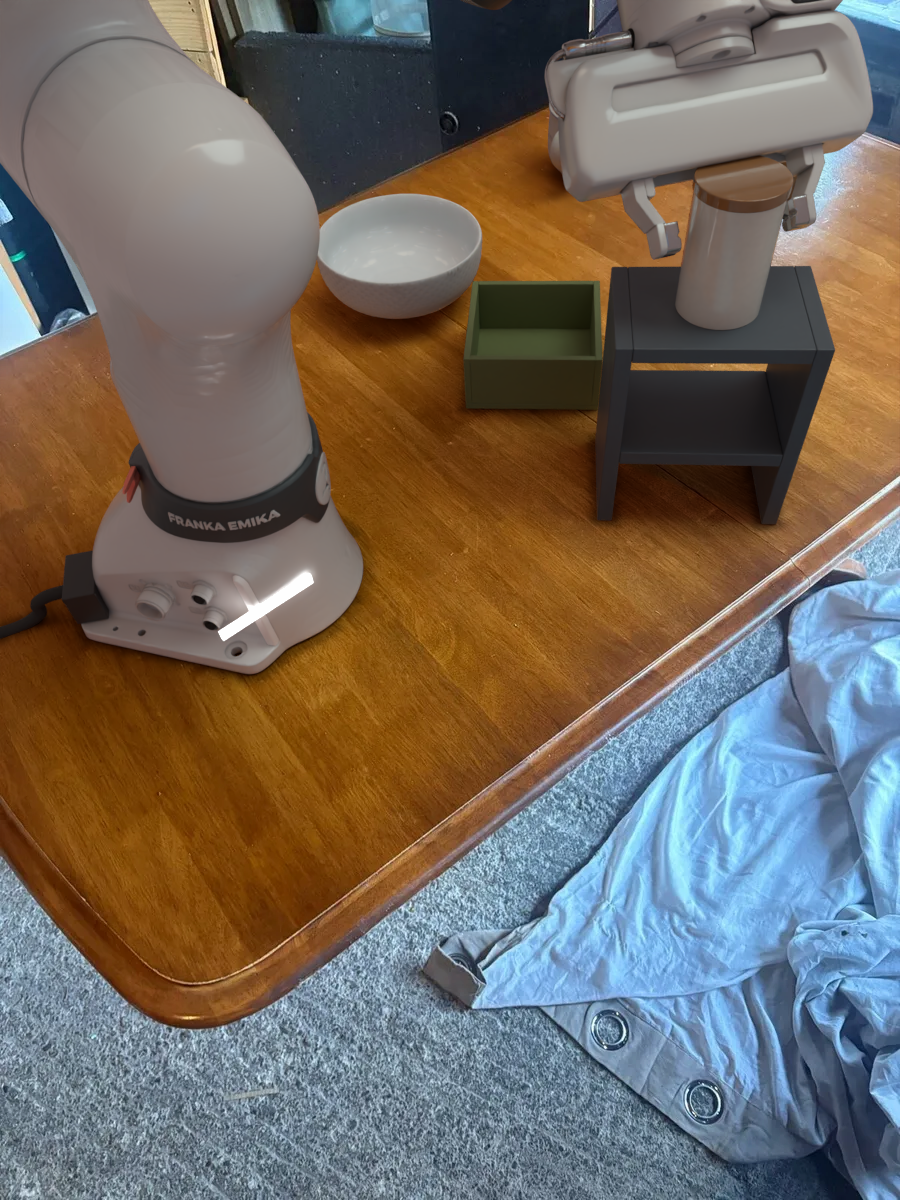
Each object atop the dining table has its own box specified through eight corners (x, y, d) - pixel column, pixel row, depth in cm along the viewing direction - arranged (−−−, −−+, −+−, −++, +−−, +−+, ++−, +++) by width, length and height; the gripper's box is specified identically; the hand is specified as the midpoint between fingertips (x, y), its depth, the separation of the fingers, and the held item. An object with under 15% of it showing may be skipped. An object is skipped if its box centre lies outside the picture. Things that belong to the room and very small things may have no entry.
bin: (465, 408, 83) (463, 359, 79) (474, 330, 91) (472, 280, 86) (597, 410, 82) (602, 359, 78) (595, 330, 89) (599, 280, 85)
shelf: (597, 520, 74) (615, 349, 60) (595, 438, 80) (611, 266, 66) (776, 524, 72) (835, 349, 59) (760, 441, 78) (811, 265, 65)
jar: (676, 331, 61) (698, 201, 54) (670, 281, 65) (690, 153, 57) (766, 331, 60) (800, 200, 53) (755, 281, 64) (786, 152, 57)
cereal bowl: (357, 362, 88) (346, 300, 83) (304, 279, 98) (292, 218, 92) (510, 314, 92) (510, 251, 86) (445, 238, 102) (441, 177, 96)
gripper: (551, 19, 52) (599, 258, 54) (868, -36, 55) (904, 195, 56) (526, 71, 58) (570, 285, 60) (811, 20, 61) (846, 227, 63)
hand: (734, 241), depth 58 cm, fingers open, 8 cm apart
